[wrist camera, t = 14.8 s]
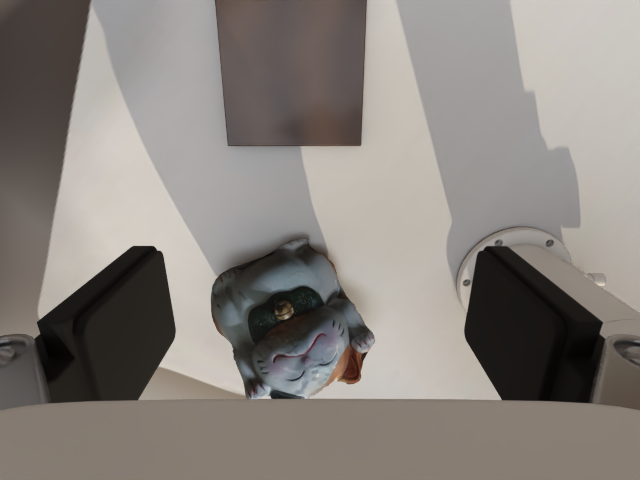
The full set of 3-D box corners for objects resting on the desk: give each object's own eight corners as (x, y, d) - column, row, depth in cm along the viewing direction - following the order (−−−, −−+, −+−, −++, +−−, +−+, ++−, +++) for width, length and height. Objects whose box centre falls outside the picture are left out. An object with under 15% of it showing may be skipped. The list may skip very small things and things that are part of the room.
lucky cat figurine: (332, 224, 40) (395, 327, 30) (338, 292, 48) (388, 389, 39) (194, 267, 37) (214, 396, 27) (225, 331, 45) (249, 447, 36)
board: (370, -125, 29) (372, -136, 28) (359, 144, 37) (361, 146, 36) (207, -125, 29) (202, -136, 28) (230, 144, 37) (227, 146, 36)
